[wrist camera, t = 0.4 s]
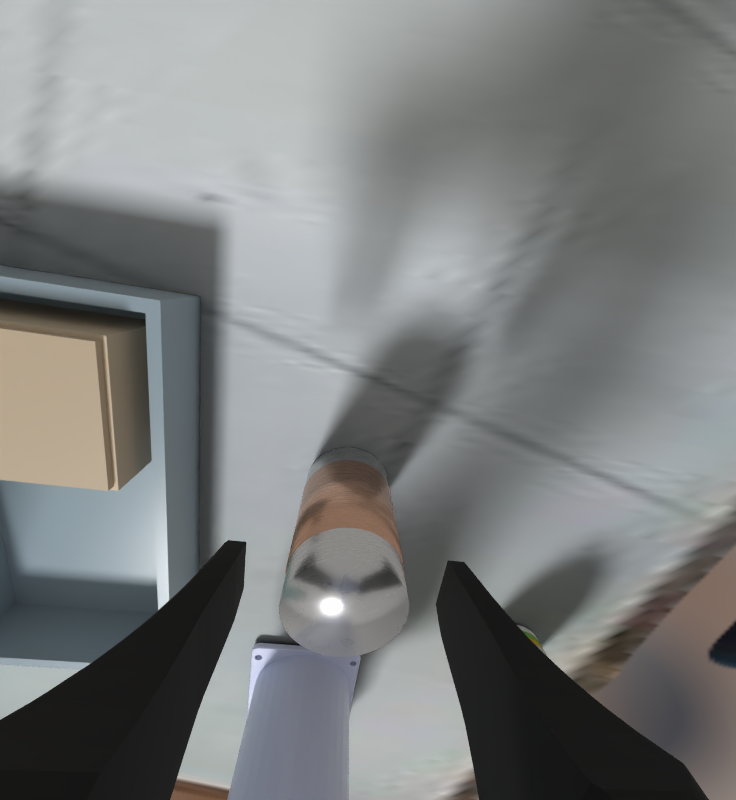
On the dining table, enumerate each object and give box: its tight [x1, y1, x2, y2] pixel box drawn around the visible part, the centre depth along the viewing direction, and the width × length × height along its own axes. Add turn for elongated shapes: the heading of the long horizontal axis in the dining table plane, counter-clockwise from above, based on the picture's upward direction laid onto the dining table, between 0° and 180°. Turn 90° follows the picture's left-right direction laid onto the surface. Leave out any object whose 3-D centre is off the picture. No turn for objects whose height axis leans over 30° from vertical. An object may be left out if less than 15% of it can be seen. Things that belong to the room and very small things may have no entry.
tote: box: [0, 265, 200, 670], centre depth 19 cm, size 22×12×4 cm, turn 171°
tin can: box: [279, 447, 409, 657], centre depth 18 cm, size 5×5×9 cm
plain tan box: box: [0, 298, 152, 491], centre depth 16 cm, size 7×9×5 cm
